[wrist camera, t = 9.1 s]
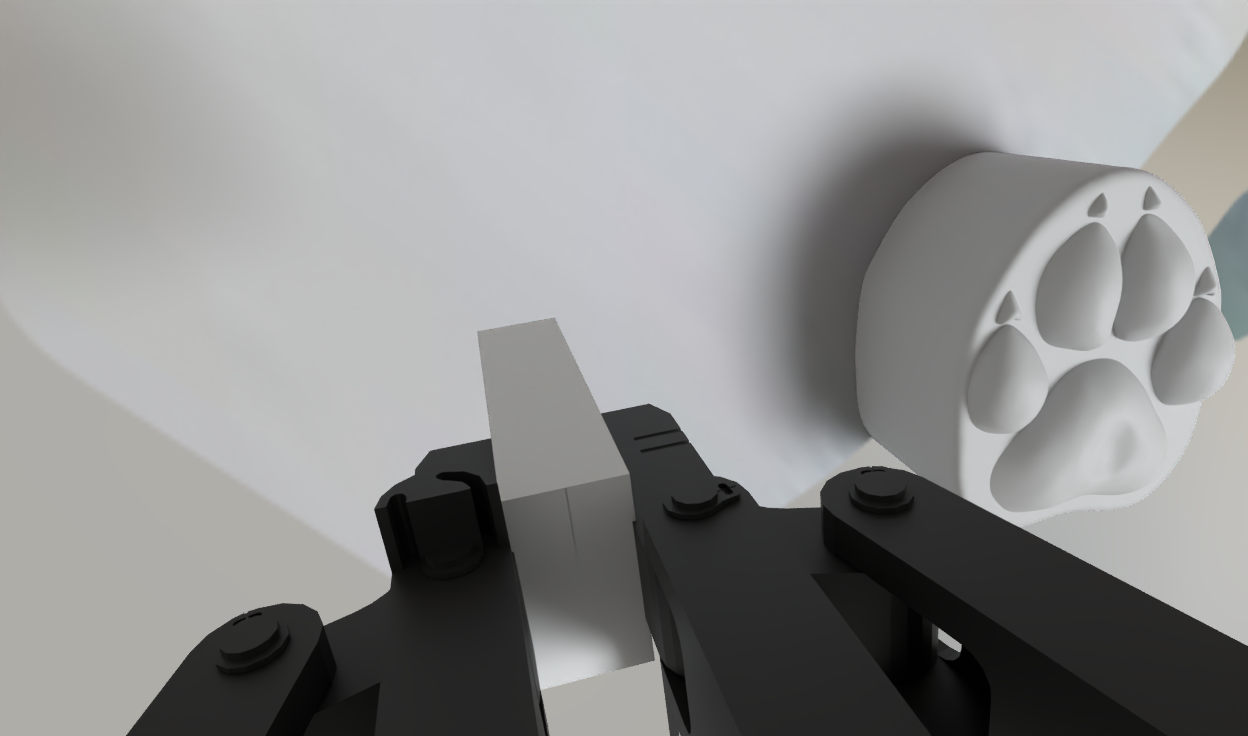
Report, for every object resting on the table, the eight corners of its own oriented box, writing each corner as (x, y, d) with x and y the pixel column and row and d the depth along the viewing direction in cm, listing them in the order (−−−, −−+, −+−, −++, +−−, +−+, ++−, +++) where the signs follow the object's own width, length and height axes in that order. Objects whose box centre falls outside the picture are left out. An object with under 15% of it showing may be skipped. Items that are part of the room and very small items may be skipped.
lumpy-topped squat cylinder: (848, 458, 34) (970, 568, 26) (863, 162, 30) (1015, 188, 22) (1049, 425, 36) (1219, 518, 28) (1092, 142, 32) (1309, 158, 24)
